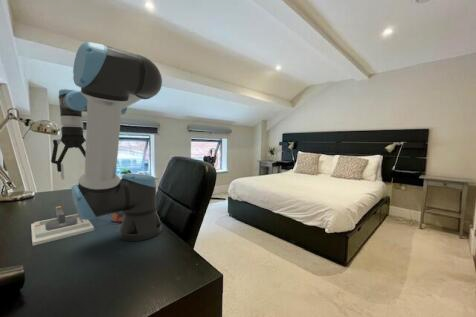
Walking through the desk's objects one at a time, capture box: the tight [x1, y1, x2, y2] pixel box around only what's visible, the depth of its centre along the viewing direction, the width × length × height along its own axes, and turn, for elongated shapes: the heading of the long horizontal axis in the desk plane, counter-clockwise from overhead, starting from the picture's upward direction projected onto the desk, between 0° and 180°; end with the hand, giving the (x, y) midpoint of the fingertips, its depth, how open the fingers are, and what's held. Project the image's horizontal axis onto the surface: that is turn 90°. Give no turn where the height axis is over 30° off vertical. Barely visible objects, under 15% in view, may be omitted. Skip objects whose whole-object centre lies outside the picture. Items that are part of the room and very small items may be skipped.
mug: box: [110, 211, 124, 223], centre depth 99 cm, size 12×9×11 cm
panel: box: [30, 213, 95, 247], centre depth 88 cm, size 22×18×3 cm
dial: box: [45, 205, 77, 230], centre depth 90 cm, size 15×10×6 cm, turn 45°
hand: (75, 177), depth 96 cm, fingers open, 8 cm apart
